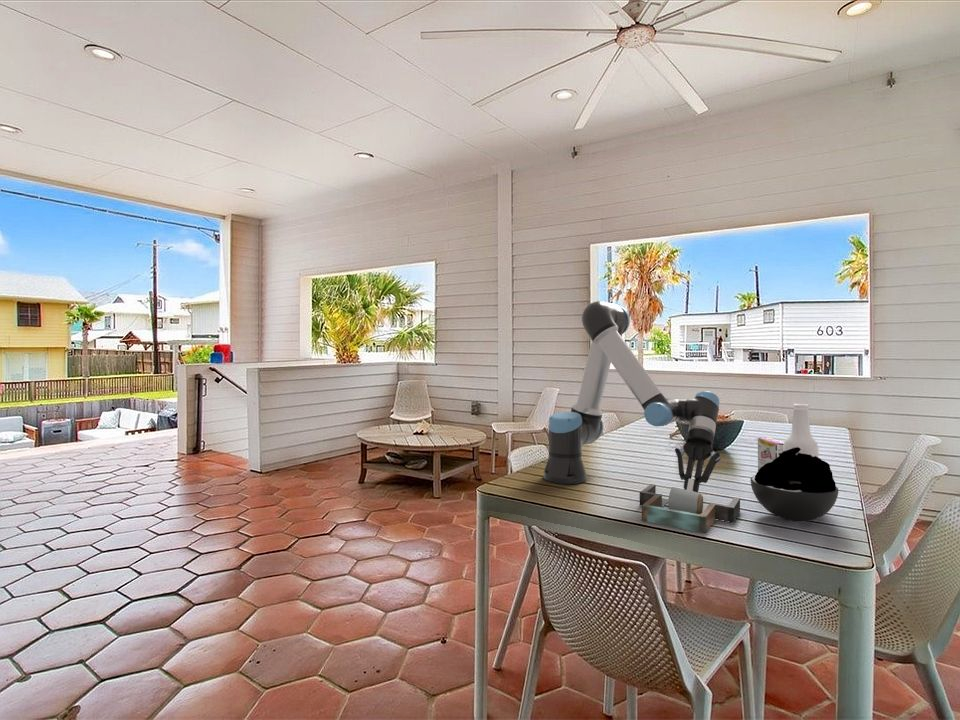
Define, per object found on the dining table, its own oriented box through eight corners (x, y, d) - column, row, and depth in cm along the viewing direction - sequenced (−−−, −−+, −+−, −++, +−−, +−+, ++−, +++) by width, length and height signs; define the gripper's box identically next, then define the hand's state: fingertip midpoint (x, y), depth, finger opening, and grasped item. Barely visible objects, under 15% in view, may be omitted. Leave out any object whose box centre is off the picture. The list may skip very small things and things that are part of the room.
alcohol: (775, 500, 149) (776, 402, 149) (802, 499, 150) (803, 402, 150) (797, 509, 140) (798, 405, 140) (825, 508, 141) (826, 405, 141)
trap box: (625, 517, 134) (625, 502, 134) (650, 496, 153) (650, 484, 153) (725, 537, 119) (725, 521, 119) (740, 511, 138) (740, 497, 138)
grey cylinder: (699, 523, 129) (700, 494, 129) (667, 518, 134) (667, 490, 134) (705, 513, 138) (705, 486, 138) (674, 508, 142) (675, 482, 142)
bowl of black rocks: (808, 538, 119) (808, 461, 118) (734, 514, 137) (734, 447, 136) (854, 526, 127) (855, 454, 127) (779, 504, 145) (780, 441, 145)
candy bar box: (756, 485, 167) (756, 437, 167) (771, 485, 167) (771, 437, 167) (775, 494, 156) (776, 443, 155) (791, 494, 156) (791, 443, 155)
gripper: (725, 443, 151) (715, 511, 137) (681, 439, 158) (667, 503, 145) (722, 428, 146) (711, 497, 133) (676, 425, 154) (662, 490, 140)
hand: (688, 500), depth 139 cm, fingers closed
